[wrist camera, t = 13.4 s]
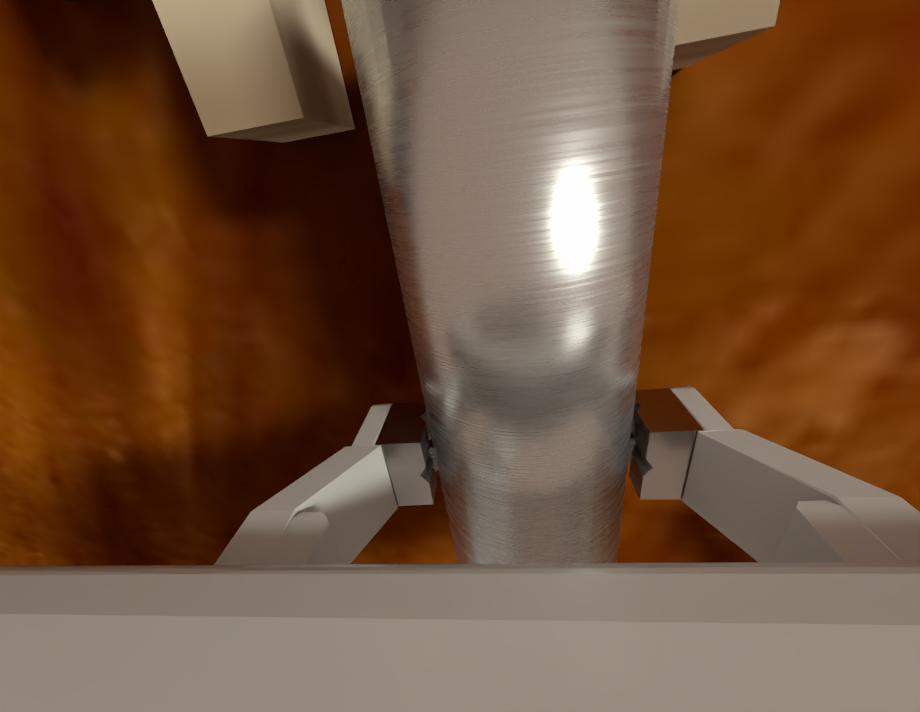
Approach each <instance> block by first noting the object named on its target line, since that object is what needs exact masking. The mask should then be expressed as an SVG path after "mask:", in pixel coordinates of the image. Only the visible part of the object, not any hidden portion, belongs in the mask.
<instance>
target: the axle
mask: <svg viewBox="0 0 920 712" xmlns="http://www.w3.org/2000/svg"><path fill="white" fill-rule="evenodd" d="M341 1H342V6H343V11H344V15H345V20H346V25H347V30H348V35H349V40H350V44H351V49H352V54H353V59H354V64H355V69H356V74H357V78H358V83H359V88H360V93H361V98H362V103H363V107H364V112H365V117H366V122H367V127H368V132H369V137H370V141H371V146H372V151H373V156H374V161H375V166H376V171H377V175H378V180H379V185H380V190H381V195H382V200H383V204H384V209H385V214H386V219H387V224H388V229H389V234H390V238H391V243H392V248H393V253H394V258H395V263H396V267H397V272H398V277H399V282H400V287H401V292H402V297H403V301H404V306H405V311H406V316H407V321H408V326H409V330H410V335H411V340H412V345H413V350H414V355H415V360H416V364H417V369H418V374H419V379H420V384H421V389H422V393H423V398H424V403H425V408H426V413H427V418H428V423H429V427H430V432H431V437H432V442H433V447H434V452H435V456H436V461H437V466H438V471H439V476H440V481H441V486H442V490H443V495H444V500H445V505H446V510H447V515H448V520H449V524H450V529H451V534H452V539H453V544H454V549H455V553H456V558H457V562H458V564H522V563H616V562H617V554H618V545H619V536H620V527H621V518H622V509H623V500H624V492H625V483H626V474H627V465H628V456H629V447H630V439H631V430H632V421H633V412H634V403H635V394H636V385H637V377H638V368H639V359H640V350H641V341H642V332H643V323H644V315H645V306H646V297H647V288H648V279H649V270H650V261H651V253H652V244H653V235H654V226H655V217H656V208H657V200H658V191H659V182H660V173H661V164H662V155H663V146H664V138H665V129H666V120H667V111H668V102H669V93H670V84H671V76H672V67H673V58H674V49H675V40H676V31H677V22H678V14H679V5H680V0H341Z"/></svg>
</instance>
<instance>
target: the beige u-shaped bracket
mask: <svg viewBox="0 0 920 712" xmlns="http://www.w3.org/2000/svg"><path fill="white" fill-rule="evenodd" d="M152 1H153V4H154V6H155V9H156V11H157V14H158V16H159V18H160V21H161V23H162V26H163V28H164V31H165V33H166V36H167V38H168V41H169V43H170V45H171V48H172V50H173V53H174V55H175V58H176V60H177V63H178V65H179V68H180V70H181V72H182V75H183V77H184V80H185V82H186V85H187V87H188V90H189V92H190V95H191V97H192V100H193V102H194V104H195V107H196V109H197V112H198V114H199V117H200V119H201V122H202V124H203V127H204V129H205V131H206V134H207V136H208V137H221V138H234V139H246V140H259V141H272V142H289V141H295V140H300V139H305V138H311V137H316V136H321V135H327V134H332V133H337V132H343V131H348V130H353V129H355V126H354V122H353V117H352V113H351V109H350V105H349V101H348V97H347V93H346V88H345V84H344V80H343V76H342V72H341V68H340V64H339V59H338V55H337V51H336V47H335V43H334V39H333V34H332V30H331V26H330V22H329V18H328V14H327V10H326V5H325V1H324V0H152ZM779 3H780V0H680V5H679V14H678V22H677V31H676V40H675V49H674V58H673V67H672V70H675V69H680V68H685V67H687V66H689V65H691V64H694V63H696V62H698V61H700V60H702V59H704V58H707V57H709V56H711V55H713V54H715V53H717V52H720V51H722V50H724V49H726V48H728V47H730V46H733V45H735V44H737V43H739V42H741V41H743V40H745V39H748V38H750V37H752V36H754V35H756V34H758V33H761V32H763V31H765V30H767V29H769V28H771V27H774V26H775V23H776V18H777V13H778V8H779Z"/></svg>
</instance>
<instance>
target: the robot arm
mask: <svg viewBox="0 0 920 712" xmlns="http://www.w3.org/2000/svg"><path fill="white" fill-rule="evenodd" d="M628 465H629V466H630V472H629V477H630V479H631V481H632V483H633V485H634V488H635V490H636V492H637V494H638V496H639V498H640V499H682V502H684V503H685V504H686V505H687V506H689V507H690V508H691V509H692V510H694V511H695V512H696V513H697V514H699V515H700V516H701V517H702V518H704V519H705V520H706V521H707V522H709V523H710V524H711V525H712V526H714V527H715V528H716V529H717V530H719V531H720V532H721V533H722V534H724V535H725V536H726V537H727V538H729V539H730V540H731V541H732V542H734V543H735V544H736V545H737V546H739V547H740V548H741V549H742V550H744V551H745V552H746V553H747V554H749V555H750V556H751V557H752V558H754V559H755V560H756V561H757V562H733V563H522V564H351V563H352V561H353V560H354V559H355V558H356V557H357V555H358V554H359V553H360V552H361V551H362V550H363V548H364V547H365V546H366V545H367V544H368V543H369V541H370V540H371V539H372V538H373V537H374V536H375V534H376V533H377V532H378V531H379V530H380V529H381V527H382V526H383V525H384V524H385V523H386V522H387V520H388V519H389V518H390V517H391V516H392V514H393V513H394V512H395V511H396V510H397V509H398V507H397V506H410V505H429V504H434V498H435V492H436V486H437V478H436V473H435V472H436V471H437V470H438V466H437V461H436V456H435V452H434V447H433V442H432V437H431V432H430V427H429V423H428V418H427V413H426V408H425V403H424V402H416V403H394V404H392V403H388V404H375V405H373V406H371V408H370V410H369V412H368V414H367V416H366V418H365V420H364V422H363V424H362V426H361V428H360V430H359V432H358V434H357V436H356V438H355V440H354V442H353V444H352V446H350V447H344V448H343V449H341V450H340V451H338V452H337V453H335V454H334V455H332V456H331V457H330V458H328V459H327V460H325V461H324V462H322V463H321V464H319V465H318V466H316V467H315V468H314V469H312V470H311V471H309V472H308V473H306V474H305V475H303V476H302V477H300V478H299V479H298V480H296V481H295V482H293V483H292V484H290V485H289V486H287V487H286V488H284V489H283V490H282V491H280V492H279V493H277V494H276V495H274V496H273V497H271V498H270V499H268V500H267V501H266V502H264V503H263V504H261V505H260V506H258V507H257V508H255V509H254V510H252V511H251V512H250V514H249V515H248V517H247V518H246V519H245V521H244V522H243V524H242V525H241V527H240V528H239V529H238V531H237V532H236V534H235V535H234V537H233V538H232V539H231V541H230V542H229V544H228V545H227V547H226V548H225V549H224V551H223V552H222V554H221V555H220V557H219V558H218V560H217V561H216V562H215V564H214V565H130V566H0V712H920V512H919V511H917V510H916V509H915V508H914V507H912V506H911V505H910V504H909V503H907V502H906V501H905V500H904V499H902V498H901V497H899V496H897V495H894V494H892V493H890V492H887V491H885V490H883V489H880V488H878V487H876V486H873V485H871V484H869V483H866V482H864V481H862V480H859V479H857V478H855V477H852V476H850V475H848V474H845V473H843V472H841V471H838V470H836V469H834V468H831V467H829V466H827V465H824V464H822V463H820V462H817V461H815V460H813V459H810V458H808V457H806V456H803V455H801V454H799V453H796V452H794V451H792V450H789V449H787V448H785V447H782V446H780V445H778V444H775V443H773V442H771V441H768V440H766V439H764V438H761V437H759V436H757V435H754V434H752V433H750V432H747V431H745V430H743V429H736V430H734V429H733V428H732V427H731V426H730V425H729V424H728V423H727V422H726V421H725V419H724V418H723V417H722V416H721V415H720V414H719V413H718V412H717V411H716V410H715V409H714V408H713V407H712V406H711V405H710V404H709V403H708V402H707V401H706V400H705V399H704V397H703V396H702V395H701V394H700V393H699V392H698V391H697V390H696V389H695V388H693V387H691V386H683V387H672V388H664V389H651V390H637V391H636V394H635V403H634V412H633V421H632V430H631V439H630V447H629V456H628Z"/></svg>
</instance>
